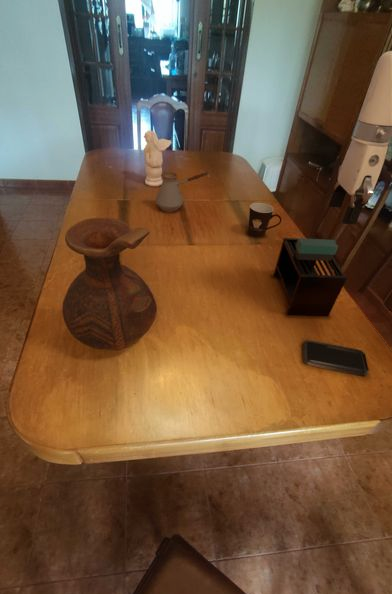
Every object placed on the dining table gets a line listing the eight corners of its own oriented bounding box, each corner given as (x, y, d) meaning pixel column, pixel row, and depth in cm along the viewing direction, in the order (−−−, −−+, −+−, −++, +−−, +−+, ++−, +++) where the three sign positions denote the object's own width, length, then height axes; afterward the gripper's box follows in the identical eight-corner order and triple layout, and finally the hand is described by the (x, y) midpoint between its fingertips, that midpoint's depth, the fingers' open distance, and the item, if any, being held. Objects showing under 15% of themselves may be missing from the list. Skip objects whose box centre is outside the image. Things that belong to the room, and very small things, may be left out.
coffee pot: (153, 212, 129) (152, 172, 118) (157, 201, 137) (156, 162, 126) (205, 217, 129) (209, 177, 118) (206, 205, 137) (210, 167, 126)
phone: (369, 374, 75) (305, 361, 76) (367, 377, 75) (303, 364, 77) (364, 350, 80) (304, 338, 81) (362, 353, 81) (303, 341, 82)
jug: (67, 368, 71) (24, 245, 50) (70, 307, 85) (37, 191, 64) (163, 355, 76) (162, 238, 54) (151, 300, 90) (146, 189, 68)
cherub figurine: (145, 178, 154) (143, 124, 138) (170, 179, 156) (171, 126, 140) (144, 187, 146) (141, 131, 130) (171, 189, 147) (171, 133, 131)
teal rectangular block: (327, 254, 89) (333, 239, 86) (331, 261, 87) (338, 246, 83) (293, 253, 88) (298, 238, 85) (296, 260, 86) (301, 244, 83)
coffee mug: (240, 232, 122) (245, 206, 115) (254, 226, 127) (260, 200, 119) (263, 244, 117) (270, 218, 110) (277, 238, 121) (285, 212, 114)
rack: (308, 276, 104) (323, 239, 95) (328, 316, 90) (347, 278, 81) (273, 275, 103) (283, 237, 94) (287, 315, 89) (301, 276, 80)
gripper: (410, 145, 60) (370, 231, 72) (372, 124, 72) (343, 201, 84) (372, 143, 60) (338, 230, 72) (340, 122, 72) (316, 200, 84)
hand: (341, 214), depth 78 cm, fingers open, 9 cm apart
